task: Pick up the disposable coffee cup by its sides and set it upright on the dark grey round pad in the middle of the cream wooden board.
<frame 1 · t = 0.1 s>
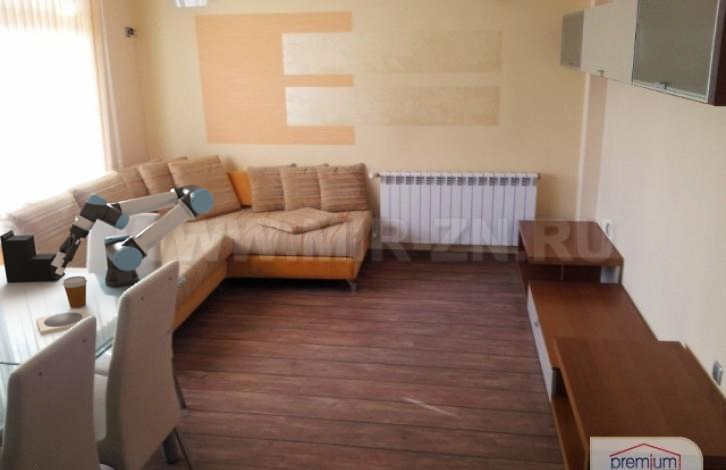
hand: (56, 269, 259), 15 cm above the table, tool tilted 35°, fingers open, 13 cm apart
disposable coffee cup: (78, 305, 260), on the table
bookend: (36, 279, 293), on the table
carrier board: (63, 323, 242), on the table
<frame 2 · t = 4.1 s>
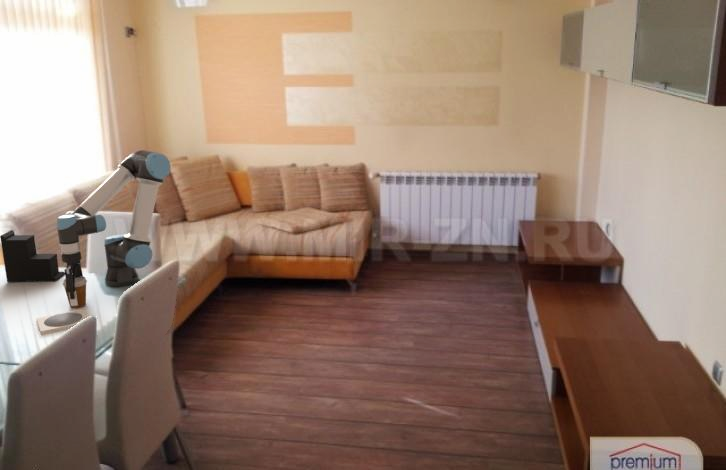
hand: (77, 301, 259), 2 cm above the table, tool pointing down, fingers closed on disposable coffee cup, 8 cm apart
disposable coffee cup: (78, 305, 260), on the table, touching gripper
everything else where it was.
when the fingers open (4 cm above the table, at t = 13.0 s): disposable coffee cup moves 4 cm, resting on carrier board.
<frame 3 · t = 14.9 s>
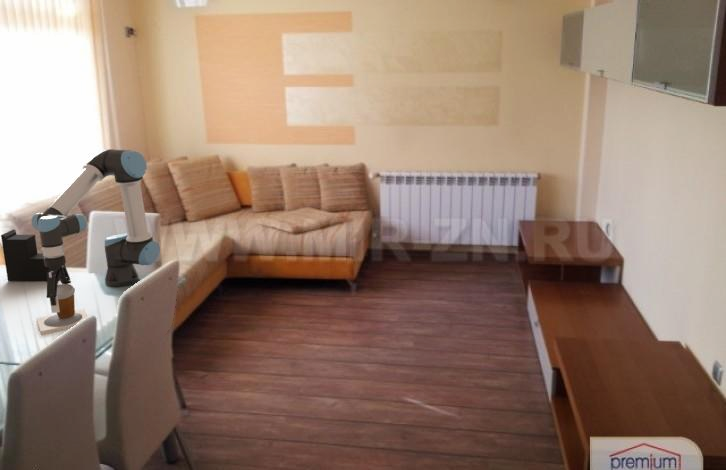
hand: (61, 305, 240), 7 cm above the table, tool pointing down, fingers open, 13 cm apart
disposable coffee cup: (66, 314, 245), point 2 cm above the table, touching carrier board
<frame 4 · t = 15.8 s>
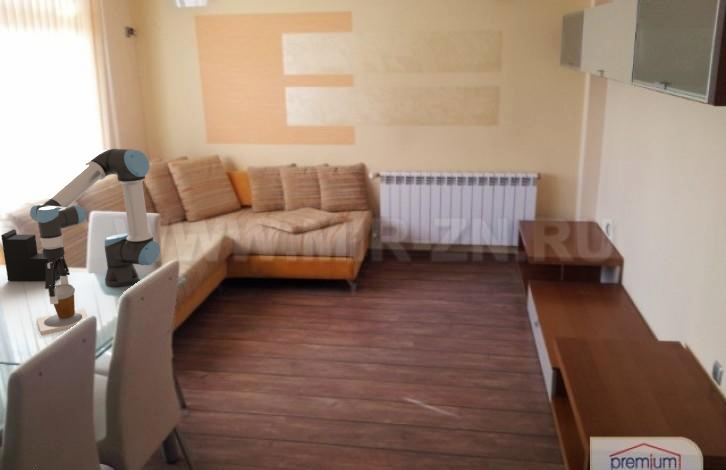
hand: (60, 297, 239), 11 cm above the table, tool pointing down, fingers open, 13 cm apart
disposable coffee cup: (66, 314, 245), point 2 cm above the table, touching carrier board, gripper
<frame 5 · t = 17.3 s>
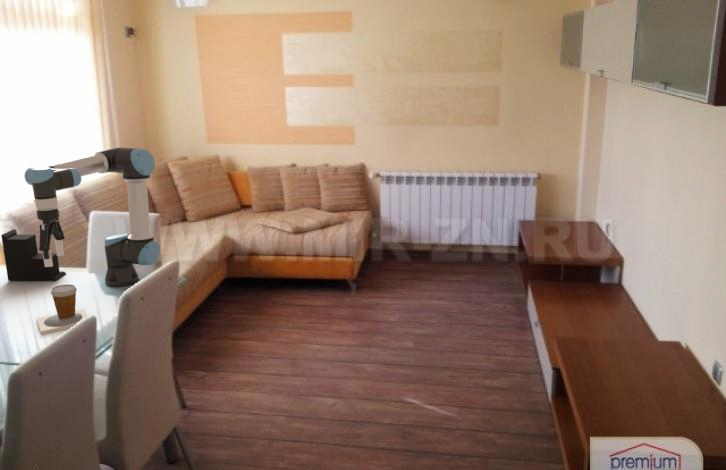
hand: (55, 261, 235), 26 cm above the table, tool pointing down, fingers open, 13 cm apart
disposable coffee cup: (66, 316, 245), point 1 cm above the table, touching carrier board
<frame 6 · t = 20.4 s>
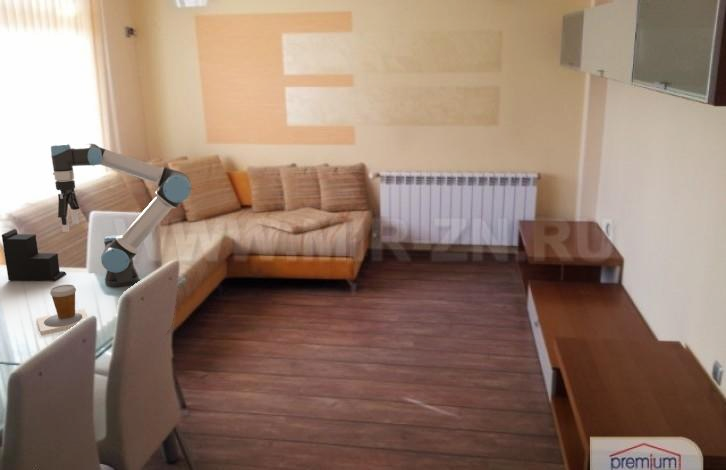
hand: (71, 227, 263), 32 cm above the table, tool pointing down, fingers open, 13 cm apart
at the end: disposable coffee cup 3.7 cm from the carrier board (horizontally); disposable coffee cup tilted 0°; disposable coffee cup touching carrier board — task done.
